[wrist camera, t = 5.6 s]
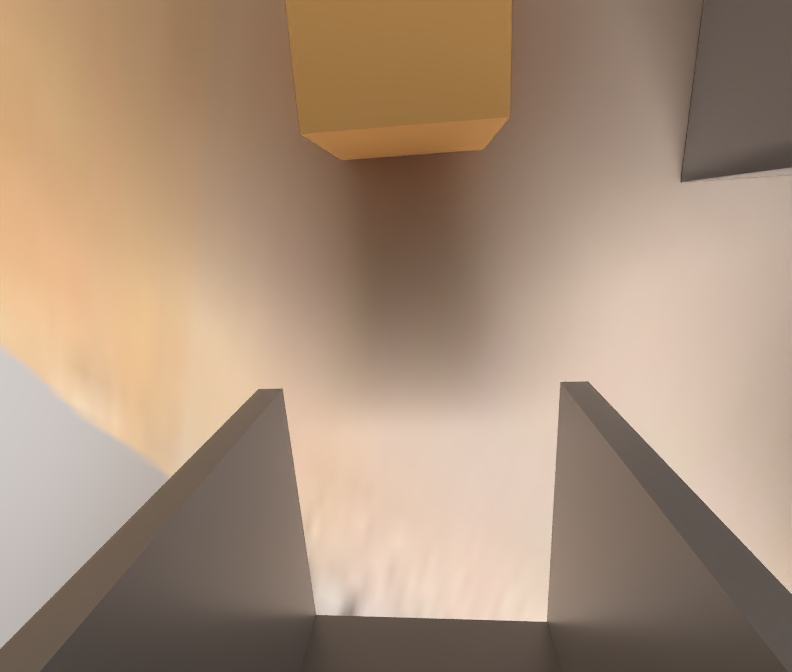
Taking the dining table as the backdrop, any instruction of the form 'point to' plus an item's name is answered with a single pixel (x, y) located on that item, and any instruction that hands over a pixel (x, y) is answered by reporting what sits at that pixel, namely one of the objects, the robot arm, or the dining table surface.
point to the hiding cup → (413, 637)
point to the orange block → (400, 74)
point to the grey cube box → (741, 92)
